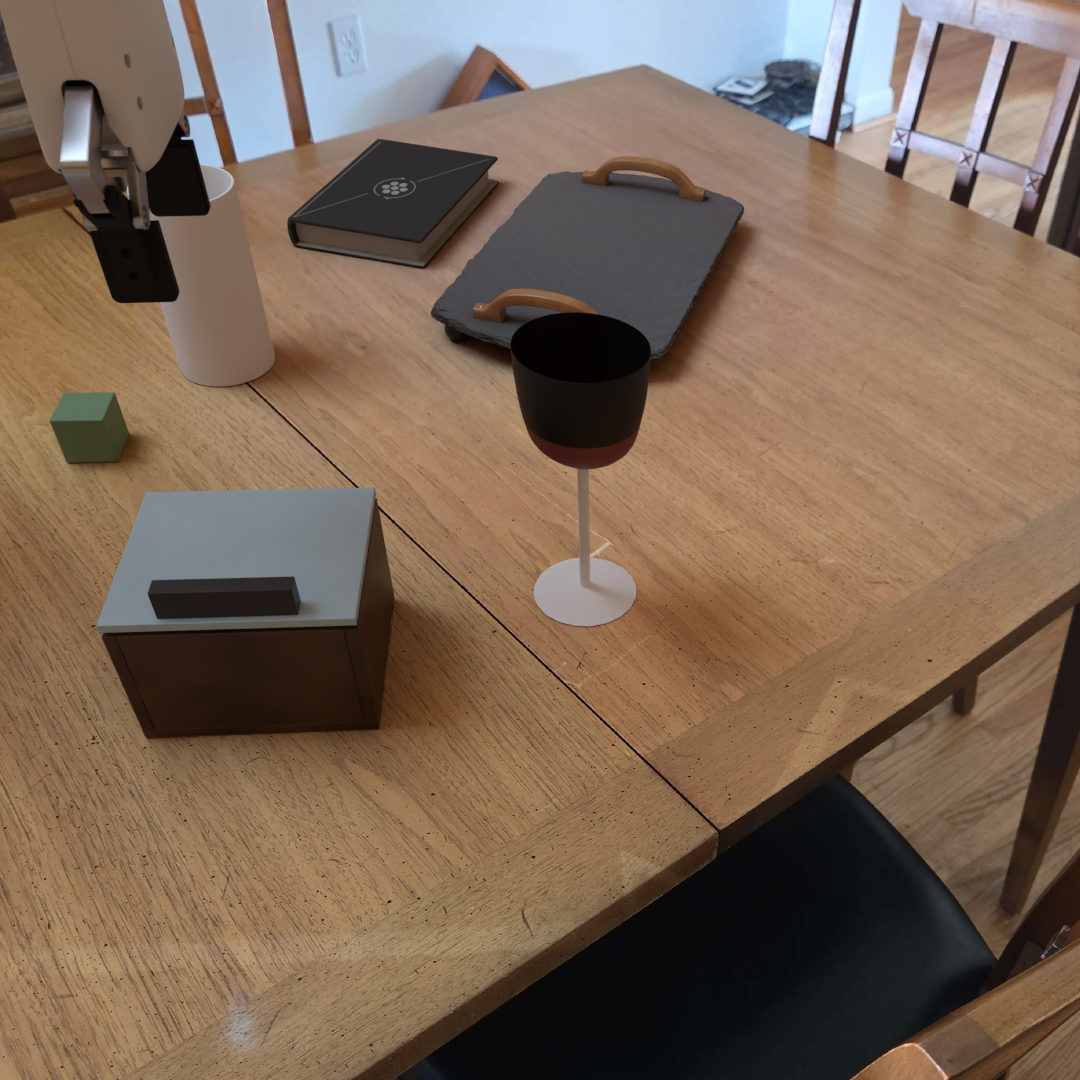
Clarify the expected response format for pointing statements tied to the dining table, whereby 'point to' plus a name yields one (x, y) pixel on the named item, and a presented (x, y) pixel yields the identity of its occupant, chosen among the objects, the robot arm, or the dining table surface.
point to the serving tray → (595, 254)
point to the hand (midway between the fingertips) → (165, 254)
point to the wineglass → (582, 438)
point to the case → (264, 670)
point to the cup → (216, 291)
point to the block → (89, 427)
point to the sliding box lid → (242, 560)
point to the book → (394, 203)
